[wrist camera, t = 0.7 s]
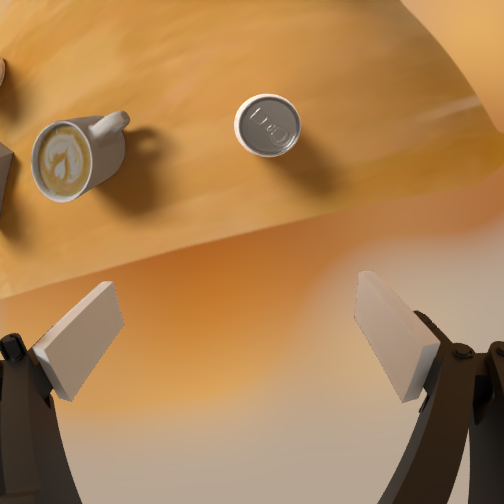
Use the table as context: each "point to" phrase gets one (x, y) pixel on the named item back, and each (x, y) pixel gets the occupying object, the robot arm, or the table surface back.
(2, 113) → the table surface
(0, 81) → the supplement can
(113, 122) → the coffee mug
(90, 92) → the table surface
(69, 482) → the robot arm
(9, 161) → the divider rack
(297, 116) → the can
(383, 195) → the table surface
